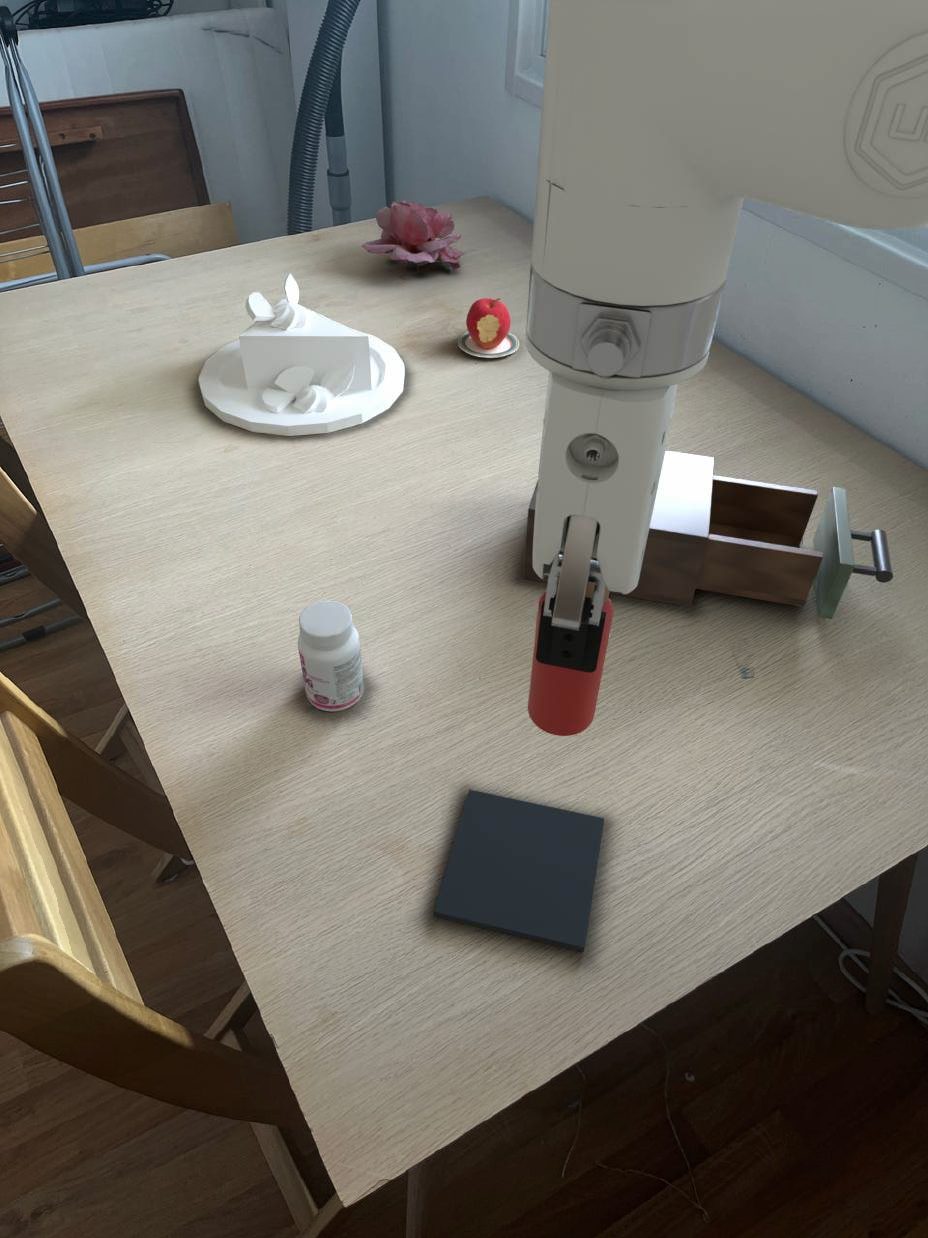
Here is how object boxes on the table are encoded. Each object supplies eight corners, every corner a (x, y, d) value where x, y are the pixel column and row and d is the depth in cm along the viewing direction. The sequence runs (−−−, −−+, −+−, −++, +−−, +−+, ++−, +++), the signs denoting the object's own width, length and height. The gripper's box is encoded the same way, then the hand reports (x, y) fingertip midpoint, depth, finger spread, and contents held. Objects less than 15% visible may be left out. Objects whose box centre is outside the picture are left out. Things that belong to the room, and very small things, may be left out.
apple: (531, 350, 115) (534, 302, 110) (481, 366, 112) (482, 317, 107) (495, 326, 120) (497, 279, 115) (446, 341, 116) (446, 293, 112)
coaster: (603, 822, 63) (604, 818, 63) (583, 952, 56) (584, 948, 56) (468, 793, 65) (469, 789, 65) (433, 916, 58) (433, 912, 58)
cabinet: (697, 524, 89) (714, 457, 83) (690, 607, 80) (709, 537, 74) (545, 500, 91) (552, 433, 86) (522, 578, 82) (528, 509, 77)
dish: (159, 410, 103) (136, 318, 95) (266, 321, 120) (253, 237, 112) (350, 453, 97) (342, 359, 89) (433, 353, 114) (433, 266, 106)
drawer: (870, 548, 85) (893, 495, 81) (881, 628, 77) (908, 574, 73) (675, 517, 88) (688, 465, 84) (667, 591, 80) (680, 537, 76)
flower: (427, 280, 123) (431, 202, 119) (346, 270, 130) (347, 196, 126) (484, 277, 134) (489, 205, 130) (407, 267, 141) (409, 199, 137)
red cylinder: (598, 692, 54) (626, 546, 46) (589, 742, 51) (616, 596, 43) (534, 679, 54) (550, 533, 46) (521, 728, 51) (536, 582, 43)
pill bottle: (293, 692, 72) (280, 618, 66) (337, 661, 74) (328, 587, 69) (332, 723, 70) (321, 649, 64) (376, 690, 72) (370, 616, 66)
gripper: (703, 434, 29) (623, 769, 42) (724, 244, 40) (656, 551, 53) (481, 402, 30) (469, 736, 43) (563, 226, 42) (534, 530, 54)
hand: (573, 631), depth 48 cm, fingers closed on red cylinder, 4 cm apart
